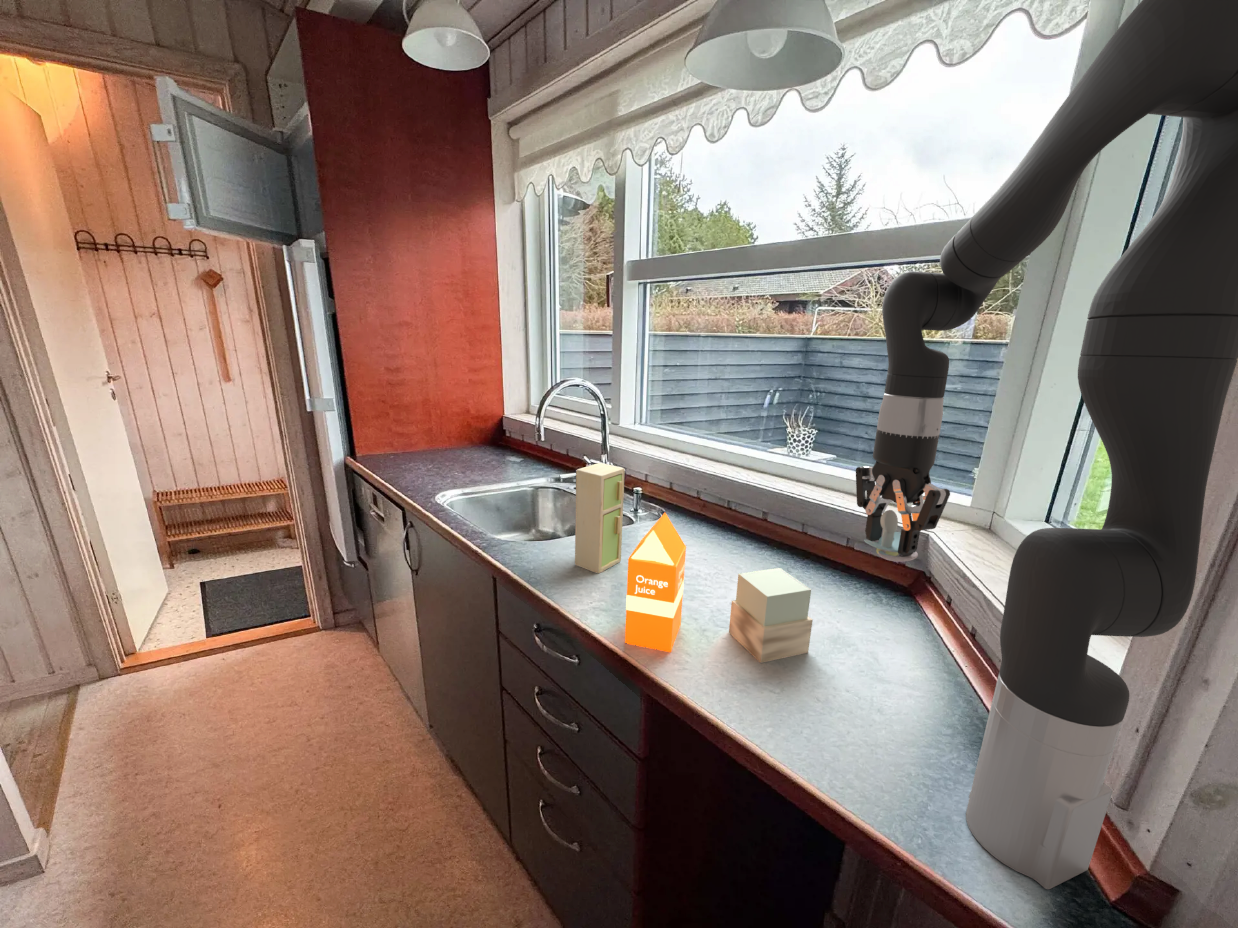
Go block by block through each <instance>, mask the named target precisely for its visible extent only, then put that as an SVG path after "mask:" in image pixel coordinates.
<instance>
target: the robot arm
mask: <svg viewBox="0 0 1238 928" xmlns="http://www.w3.org/2000/svg"><path fill="white" fill-rule="evenodd" d="M1148 115H1154V116H1155V115H1156V116H1157V115H1158V116H1165V117H1175V118H1182V120H1183V121H1182V133H1181V141H1180V146H1179V152H1178V156H1177V159H1176V163H1175V168H1174V171H1173V175H1172V179H1171V181H1170V184H1169V187H1168V190H1167V192H1166V194H1165V196H1164V198H1163V200H1162V202H1161V204H1160V206H1158V209H1157V210H1156V213H1155V214H1154V215H1153V216H1152V217H1151V218H1150V220H1149V222H1148V223H1147V224H1146V226H1145V227H1143V230H1141V231H1140V233H1139V235H1137V237H1135V239H1134V240H1133V242H1132V243H1131V244H1130V245H1129V246H1128V247H1127V249H1126V250H1125V251H1124V253H1123V254H1122V255H1120V257H1119V258H1118V260H1117V261H1116V262H1115V263H1114V265H1113V267H1111V269H1110V270H1109V272H1108V273H1107V274H1106V276H1105V277H1104V279H1103V280H1102V282H1101V283H1100V285H1099V286H1098V288H1097V290H1096V292H1095V294H1094V296H1093V298H1092V301H1091V304H1090V307H1089V309H1088V310H1089V311H1088V314H1087V321H1086V325H1085V330H1084V333H1083V339H1082V344H1081V350H1080V356H1079V360H1078V366H1077V381H1078V387H1079V391H1080V395H1081V397H1082V400H1083V403H1084V406H1085V407H1086V410H1087V413H1088V415H1089V417H1090V419H1091V421H1092V423H1093V425H1094V428H1095V430H1096V431H1097V433H1098V435H1099V438H1100V440H1101V442H1102V444H1103V447H1104V449H1105V451H1106V453H1107V458H1108V461H1109V464H1110V474H1111V486H1110V487H1111V488H1110V495H1109V501H1108V507H1107V510H1106V517H1105V520H1104V522H1103V525H1102V527H1101V529H1095V528H1074V527H1073V528H1072V527H1070V528H1069V527H1046V528H1040V529H1039V528H1038V529H1037V530H1034V531H1032V532H1031V533H1029V534H1027V536H1026V537H1025V538H1024V539H1023V540H1022V541H1021V542H1020V544H1019V546H1018V547H1017V549H1016V550H1015V553H1014V556H1013V559H1012V562H1011V565H1010V571H1009V576H1008V583H1007V588H1006V589H1007V590H1006V595H1005V596H1006V597H1005V602H1004V608H1003V614H1002V619H1001V620H1002V621H1001V626H1000V632H999V633H1000V634H999V644H1000V646H999V647H1000V653H1001V663H1000V668H999V671H998V675H997V676H998V677H997V680H996V684H995V688H994V693H993V697H992V700H991V705H990V710H989V713H988V717H987V722H986V726H985V730H984V733H983V734H984V735H983V738H982V743H981V747H980V750H979V754H978V755H979V756H978V760H977V764H976V768H975V771H974V776H973V780H972V785H971V790H970V792H969V794H968V795H969V796H968V802H967V807H966V812H965V819H966V823H967V826H968V828H969V830H970V832H971V834H972V835H973V837H974V838H975V839H976V840H977V842H978V843H979V844H980V845H981V846H982V848H984V849H985V850H986V851H987V852H988V853H989V854H991V855H992V856H993V858H995V859H997V860H998V861H1000V862H1001V863H1002V864H1004V865H1005V866H1007V867H1008V868H1010V869H1011V870H1013V871H1016V872H1018V873H1020V874H1022V875H1024V876H1026V877H1029V878H1031V879H1033V880H1035V881H1036V882H1037V883H1038V884H1039V885H1040V886H1042V887H1043V888H1044V889H1045V890H1051V889H1052V888H1055V887H1057V886H1058V885H1061V884H1062V883H1065V882H1066V881H1069V880H1071V879H1072V878H1075V877H1076V876H1078V875H1080V874H1083V873H1084V872H1087V871H1088V870H1089V866H1090V863H1091V860H1092V857H1093V854H1094V852H1095V848H1096V845H1097V843H1098V838H1099V836H1100V832H1101V829H1102V826H1103V822H1104V820H1105V817H1106V813H1107V811H1108V808H1109V804H1110V802H1111V798H1112V795H1113V789H1112V788H1111V786H1109V785H1108V784H1107V783H1104V782H1105V780H1106V776H1107V772H1108V770H1109V765H1110V763H1111V760H1112V756H1113V753H1114V749H1115V747H1116V744H1117V741H1118V737H1119V734H1120V731H1121V727H1122V725H1123V722H1124V719H1125V715H1126V713H1127V709H1128V706H1129V702H1130V690H1129V687H1128V684H1127V683H1126V682H1125V680H1124V679H1123V678H1122V677H1121V675H1119V674H1118V673H1117V672H1116V671H1114V670H1113V669H1112V668H1110V667H1109V666H1108V665H1106V664H1105V663H1104V662H1102V661H1101V660H1098V659H1097V658H1095V657H1093V656H1092V655H1089V654H1088V653H1089V645H1090V641H1091V637H1092V636H1105V637H1127V638H1129V637H1130V638H1131V637H1134V638H1135V637H1136V638H1137V637H1139V638H1144V637H1154V636H1159V635H1162V634H1166V633H1168V632H1169V631H1170V630H1172V629H1174V628H1175V627H1176V626H1177V625H1178V624H1179V623H1180V622H1181V620H1182V619H1183V618H1184V616H1185V615H1186V613H1187V610H1188V609H1189V606H1190V603H1191V601H1192V598H1193V594H1194V590H1195V583H1196V578H1197V569H1198V561H1199V553H1200V552H1199V551H1200V545H1201V544H1200V543H1201V542H1200V541H1201V533H1202V524H1203V523H1202V522H1203V513H1204V504H1205V497H1206V490H1207V483H1208V478H1209V474H1210V469H1211V464H1212V461H1213V454H1214V451H1215V447H1216V442H1217V438H1218V432H1219V429H1220V424H1221V419H1222V415H1223V410H1224V406H1225V402H1226V398H1227V394H1228V392H1229V388H1230V384H1231V382H1232V378H1233V376H1234V372H1235V369H1236V366H1237V364H1238V0H1141V1H1140V2H1139V3H1138V5H1137V6H1135V8H1134V9H1133V11H1131V12H1130V13H1129V15H1128V16H1127V17H1126V19H1125V20H1124V21H1123V23H1122V24H1121V25H1120V26H1119V27H1118V28H1117V30H1116V31H1115V32H1114V34H1113V35H1112V36H1111V38H1110V39H1109V40H1108V41H1107V43H1106V44H1105V45H1104V47H1103V48H1102V49H1101V51H1100V52H1099V54H1098V55H1097V57H1096V58H1095V59H1094V61H1093V62H1092V63H1091V65H1090V66H1089V67H1088V69H1087V70H1086V72H1085V73H1084V74H1083V75H1082V77H1081V78H1080V80H1079V81H1078V83H1076V85H1075V86H1074V88H1073V89H1072V91H1071V92H1070V93H1069V94H1068V95H1067V97H1066V98H1065V100H1064V101H1063V103H1061V105H1060V106H1059V108H1058V109H1057V111H1056V112H1055V113H1054V115H1053V116H1052V118H1051V119H1050V120H1049V121H1048V123H1047V125H1046V126H1045V128H1044V129H1043V131H1042V132H1041V133H1040V134H1039V137H1038V138H1036V140H1035V142H1034V143H1033V144H1032V145H1031V147H1030V148H1029V150H1028V151H1027V152H1026V154H1025V156H1024V157H1023V158H1022V159H1021V160H1020V162H1019V163H1018V165H1017V166H1016V168H1015V169H1014V170H1013V171H1012V172H1011V174H1010V175H1009V176H1008V177H1007V179H1005V181H1004V182H1003V183H1002V185H1000V187H999V188H998V189H997V190H996V191H995V193H994V194H993V195H991V196H990V198H989V199H988V200H987V201H985V203H984V204H983V205H982V207H980V208H979V209H978V210H977V211H976V213H974V214H973V215H972V217H971V218H970V219H969V220H967V222H966V223H965V224H964V225H963V226H962V227H961V228H960V229H959V230H958V231H957V232H956V233H955V234H954V235H953V236H952V237H951V238H950V240H949V241H948V242H947V243H946V245H944V247H943V249H942V251H941V254H940V257H939V258H940V259H939V264H940V268H941V270H942V272H929V271H927V272H926V271H908V272H907V271H906V272H903V273H900V274H899V275H897V276H896V277H895V278H894V279H893V280H892V281H891V282H890V283H889V285H888V287H887V288H886V291H885V293H884V295H883V300H882V308H881V312H882V320H883V321H882V322H883V328H884V335H885V341H886V353H887V360H888V361H887V362H888V366H887V367H888V368H887V372H886V373H887V374H886V380H885V388H884V394H883V397H882V401H881V404H880V408H879V413H878V419H877V426H876V432H875V439H874V446H873V452H872V458H873V460H874V461H875V463H874V465H873V466H872V465H864V466H857V467H856V468H855V485H856V486H855V490H856V505H857V507H859V508H863V509H864V510H865V513H866V515H867V518H866V523H865V530H864V531H865V532H864V533H865V536H866V537H865V538H866V540H869V541H872V542H878V541H879V539H880V538H881V537H882V535H883V528H882V526H881V522H880V520H881V516H882V514H883V513H884V512H885V511H887V510H886V509H887V508H888V506H889V505H890V504H891V503H892V502H894V504H896V507H897V509H896V510H897V512H898V513H899V514H900V515H901V522H902V527H903V528H901V529H900V530H901V531H900V532H901V535H900V541H899V547H898V555H899V556H907V555H912V554H913V553H914V552H917V550H918V545H919V544H918V543H919V540H920V534H921V531H926V530H927V531H928V530H934V529H936V528H937V525H938V523H939V522H940V520H941V519H940V518H941V516H942V514H943V512H944V509H945V507H946V505H947V502H948V501H949V499H950V496H951V491H950V489H948V488H939V487H938V486H936V485H934V484H932V480H931V476H930V472H931V469H932V467H933V466H934V465H935V461H936V455H937V449H938V445H939V440H940V439H939V438H940V434H941V428H942V423H943V422H942V421H943V415H944V397H945V393H946V388H947V382H948V374H949V369H950V358H949V356H948V354H946V353H945V352H943V351H941V350H938V349H933V348H931V347H928V346H926V344H925V343H926V342H925V340H924V337H923V331H935V332H936V331H939V332H941V331H943V332H944V331H950V330H953V329H957V328H959V327H961V326H963V325H964V324H966V323H967V322H969V321H970V320H971V319H972V318H973V317H974V316H975V315H976V313H978V310H980V307H982V305H983V303H984V302H986V301H985V300H986V299H988V296H989V295H990V294H991V292H992V291H993V289H995V286H996V285H997V283H998V281H999V280H1000V279H1001V278H1003V277H1004V276H1005V275H1007V274H1008V273H1010V271H1011V270H1013V269H1014V268H1015V267H1016V266H1018V265H1019V264H1020V263H1021V262H1023V260H1024V259H1026V258H1027V257H1028V256H1030V255H1031V254H1032V253H1033V252H1034V251H1035V250H1037V248H1039V247H1040V246H1041V245H1042V244H1043V243H1044V242H1045V241H1046V240H1047V239H1048V238H1049V237H1050V236H1051V234H1052V233H1053V232H1054V230H1055V229H1056V228H1057V226H1058V224H1059V222H1060V221H1061V219H1062V218H1063V216H1064V213H1065V211H1066V209H1067V206H1068V204H1069V203H1070V200H1071V198H1072V194H1073V193H1074V190H1075V187H1076V185H1077V182H1078V181H1079V179H1080V177H1081V176H1082V174H1083V172H1084V170H1085V169H1086V167H1088V165H1089V164H1090V163H1091V162H1092V161H1093V159H1095V157H1096V156H1097V155H1098V154H1099V153H1100V152H1101V151H1102V150H1103V149H1105V148H1106V146H1108V145H1109V144H1110V143H1111V142H1113V141H1114V140H1115V139H1116V138H1117V137H1120V135H1121V134H1123V133H1124V132H1126V130H1128V129H1129V128H1131V127H1133V125H1134V124H1136V123H1137V122H1139V121H1140V120H1142V119H1143V118H1145V117H1146V116H1148ZM923 494H924V496H923ZM909 504H912V505H910V506H909Z"/></svg>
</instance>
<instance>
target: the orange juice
mask: <svg viewBox="0 0 1238 928" xmlns="http://www.w3.org/2000/svg"><path fill="white" fill-rule="evenodd" d="M686 550H687V545H686V544H685V543H684V541H683V539H682V538H681V536H680V534H679V533H678V531H677V529H676V528H675V526H674V525H673V523H672V521H671V520H670V518H669V516H668V514H667V513H666V512H664V513H663V514H662V515H661V517H659V519H658V520H657V521H656V522H655V524H654V525H653V526H652V527H651V528H650V529H649V530H648V531H647V533H646V534H645V535H644V536H643V537H642V539H641V540H640V541H639V543H638V544H637V546H636V547H635V549H634V550H633V552H632V553H631V554H630V555H629V557H628V559H627V578H626V579H627V582H626V583H627V584H626V595H625V596H626V597H625V598H626V599H625V600H626V601H625V631H624V632H625V633H624V644H625V643H627V645H630V646H631V645H632V646H635V645H636V646H637V647H642V648H645V647H646V648H647V649H651V650H656V649H657V650H656V651H660V652H667V653H672V650H673V647H674V645H675V642H676V639H677V635H678V633H679V631H680V627H681V623H682V611H683V610H682V609H683V596H684V583H685V567H686V555H687V554H686V552H687V551H686ZM646 648H645V649H646Z"/></svg>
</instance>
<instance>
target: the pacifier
mask: <svg viewBox="0 0 1238 928" xmlns="http://www.w3.org/2000/svg"><path fill="white" fill-rule="evenodd" d="M898 520H899V517H898V516H897V513H896V511H894V510H892V509H889V510H885V512H884V513H883V514H882V516H881V520H880V522H881V526H882V528H883V530H882V536H881V538H880V539H879V540H877V541H870V540H868V539H863V541H864V542H865V543H866V544H867V545H869V546H871V547H873V548H875V549H876V551H875V553H876V554H877V555H878V556H879V557H881V558H882V559H884V560H887V561H892V562H903V563H905V562H910V561H913V560H915V559H917V558H918V557H919V553H918V552H917V551H916V552H914V553H913V554H912V555H907V556H902V555H899V554H898V547H899V541H900V535H901V531H897V529H898V526H899V521H898Z"/></svg>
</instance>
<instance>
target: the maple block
mask: <svg viewBox="0 0 1238 928" xmlns="http://www.w3.org/2000/svg"><path fill="white" fill-rule="evenodd" d="M730 605H731V606H730V618H729V624H728V625H729V626H728V627H729V628H728V633H729V634H730V635H731V636H732V637H733V638H734V639H735V640H736V641H737V642H738V643H739V644H740V645H741V646H742V647H744V648H745V650H747V652H748V653H750V655H752V657H754V658H755V660H757V662H759V664H762V663H767V662H771V661H777V660H779V659H784V658H789V657H795V656H799V655H803V654H808V653H809V651H810V650H809V648H810V643H811V642H810V641H811V635H812V628H813V620H814V619H812V618H811V617H810V616H808V618H807V619H802V620H797V621H792V622H786V623H781V624H775V625H770V626H763V625H762V624H761V623H759V622H758V621H757V620H756V619H755V618H754V617H753V616H752V615H750V614H749V613H748V612H747V611H746V610H745V609H744V608H743V607H741V606H740V605H739V604H738V603H737V602H736V599H735V600H731V604H730Z"/></svg>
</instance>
